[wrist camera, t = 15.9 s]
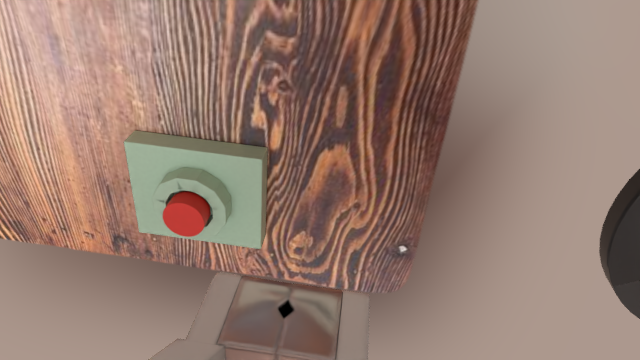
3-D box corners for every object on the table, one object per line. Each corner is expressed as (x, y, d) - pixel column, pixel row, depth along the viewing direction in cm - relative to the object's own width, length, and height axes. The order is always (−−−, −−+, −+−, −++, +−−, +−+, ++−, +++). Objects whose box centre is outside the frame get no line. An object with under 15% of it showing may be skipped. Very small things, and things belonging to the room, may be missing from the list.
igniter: (267, 147, 40) (257, 171, 36) (265, 234, 45) (256, 262, 42) (135, 129, 40) (112, 151, 37) (148, 218, 46) (130, 244, 42)
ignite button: (209, 194, 38) (202, 206, 37) (211, 227, 40) (205, 239, 39) (168, 188, 39) (160, 200, 37) (172, 221, 41) (164, 233, 39)
